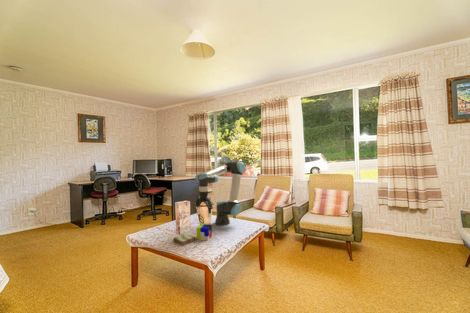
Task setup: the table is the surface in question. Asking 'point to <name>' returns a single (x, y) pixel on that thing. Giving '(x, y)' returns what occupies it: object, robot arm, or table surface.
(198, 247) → the table surface
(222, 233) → the table surface
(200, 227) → the puzzle toy
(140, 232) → the table surface
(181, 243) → the plinth
